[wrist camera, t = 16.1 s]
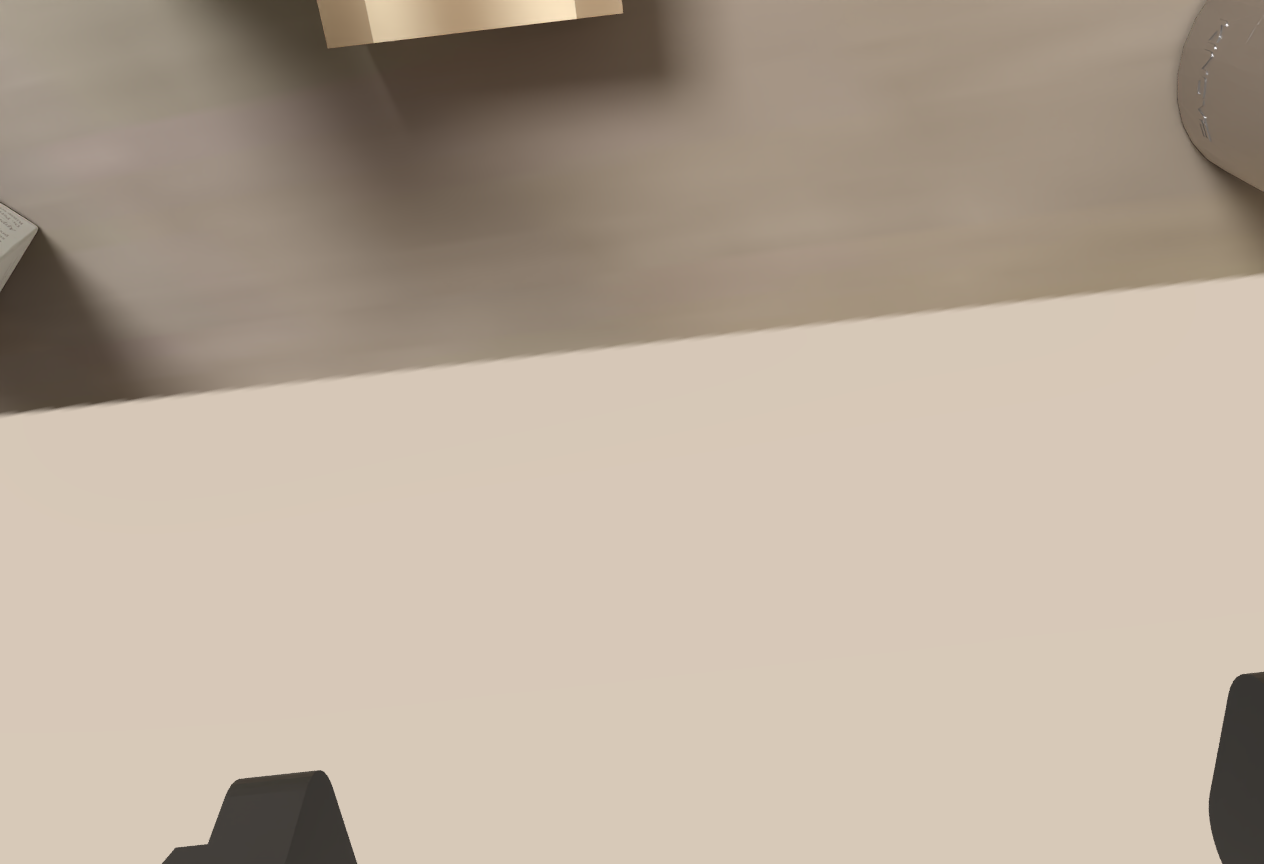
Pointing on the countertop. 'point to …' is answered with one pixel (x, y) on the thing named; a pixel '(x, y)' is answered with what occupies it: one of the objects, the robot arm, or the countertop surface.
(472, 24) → the wooden box holder
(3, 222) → the skincare box
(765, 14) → the countertop surface
